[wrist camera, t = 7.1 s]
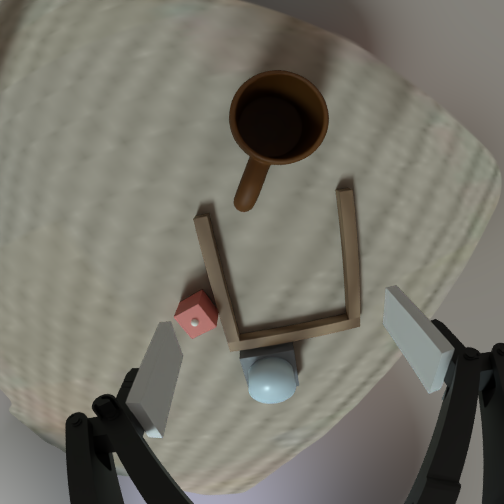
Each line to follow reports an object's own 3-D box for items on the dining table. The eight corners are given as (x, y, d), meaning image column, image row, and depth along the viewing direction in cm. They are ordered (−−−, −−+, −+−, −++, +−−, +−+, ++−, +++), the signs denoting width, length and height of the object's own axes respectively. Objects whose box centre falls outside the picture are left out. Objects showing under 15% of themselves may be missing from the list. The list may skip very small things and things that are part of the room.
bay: (230, 344, 37) (230, 351, 35) (195, 215, 31) (193, 219, 29) (356, 320, 36) (360, 326, 34) (347, 187, 30) (352, 189, 29)
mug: (274, 210, 31) (286, 234, 22) (208, 185, 30) (191, 200, 21) (316, 109, 27) (345, 93, 18) (249, 82, 26) (250, 54, 17)
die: (196, 322, 35) (191, 341, 32) (179, 302, 34) (172, 319, 31) (218, 311, 35) (215, 329, 31) (202, 289, 34) (197, 306, 30)
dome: (253, 390, 37) (253, 406, 34) (244, 361, 35) (244, 376, 32) (295, 384, 37) (298, 399, 34) (290, 353, 35) (293, 368, 32)
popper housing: (250, 383, 39) (250, 393, 37) (239, 349, 37) (239, 358, 35) (297, 376, 39) (298, 385, 37) (291, 340, 37) (293, 349, 35)
